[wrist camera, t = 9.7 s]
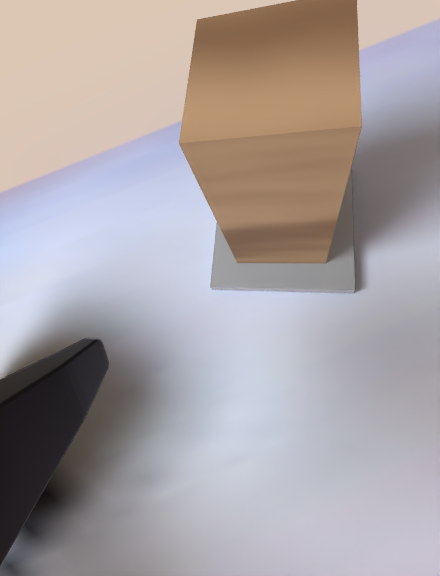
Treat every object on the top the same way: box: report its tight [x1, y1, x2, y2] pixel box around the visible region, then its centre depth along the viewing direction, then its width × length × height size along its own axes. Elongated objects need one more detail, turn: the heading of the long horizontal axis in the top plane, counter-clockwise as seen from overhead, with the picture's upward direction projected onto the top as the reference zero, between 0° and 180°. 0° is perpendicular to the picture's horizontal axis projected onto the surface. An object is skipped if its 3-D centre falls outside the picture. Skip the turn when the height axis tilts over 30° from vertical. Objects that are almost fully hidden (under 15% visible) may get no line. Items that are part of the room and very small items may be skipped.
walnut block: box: [179, 0, 362, 264], centre depth 14 cm, size 5×5×10 cm
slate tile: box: [210, 165, 355, 293], centre depth 19 cm, size 8×8×1 cm
